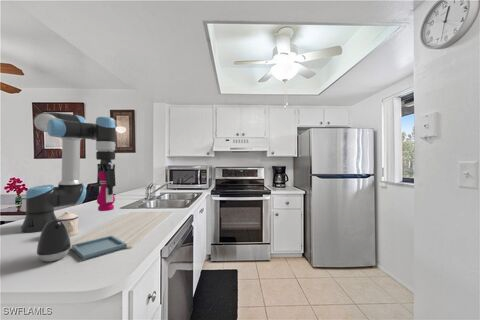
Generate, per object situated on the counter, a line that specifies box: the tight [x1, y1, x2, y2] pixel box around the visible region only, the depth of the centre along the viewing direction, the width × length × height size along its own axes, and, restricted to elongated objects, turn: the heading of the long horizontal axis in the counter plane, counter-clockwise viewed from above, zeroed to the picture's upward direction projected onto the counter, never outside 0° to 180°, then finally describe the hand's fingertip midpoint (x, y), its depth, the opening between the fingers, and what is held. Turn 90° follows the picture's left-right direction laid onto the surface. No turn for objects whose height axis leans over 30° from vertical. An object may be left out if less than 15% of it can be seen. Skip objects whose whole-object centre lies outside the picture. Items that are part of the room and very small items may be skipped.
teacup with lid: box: [56, 211, 79, 237], centre depth 114 cm, size 12×9×12 cm
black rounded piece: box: [36, 220, 72, 262], centre depth 88 cm, size 10×10×15 cm
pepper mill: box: [96, 170, 116, 212], centre depth 104 cm, size 7×7×20 cm
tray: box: [71, 234, 128, 262], centre depth 97 cm, size 16×16×2 cm
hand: (106, 200), depth 104 cm, fingers closed on pepper mill, 7 cm apart
